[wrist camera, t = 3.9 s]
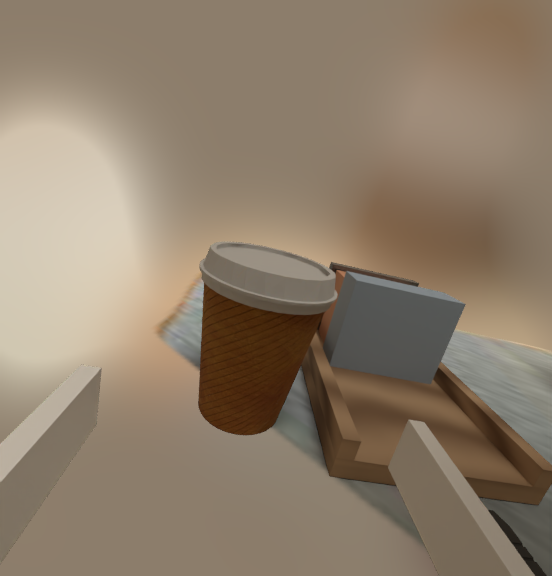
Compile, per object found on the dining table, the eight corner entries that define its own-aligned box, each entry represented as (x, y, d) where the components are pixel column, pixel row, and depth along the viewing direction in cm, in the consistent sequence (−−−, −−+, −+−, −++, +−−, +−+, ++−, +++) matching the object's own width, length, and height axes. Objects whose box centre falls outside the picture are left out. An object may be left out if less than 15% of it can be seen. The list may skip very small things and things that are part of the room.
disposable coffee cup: (272, 480, 19) (328, 295, 15) (146, 414, 21) (170, 243, 18) (310, 398, 27) (351, 269, 24) (218, 358, 30) (243, 237, 27)
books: (430, 384, 32) (465, 304, 30) (329, 365, 31) (356, 280, 28) (396, 346, 40) (421, 280, 38) (314, 330, 39) (335, 260, 36)
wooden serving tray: (538, 505, 22) (558, 472, 21) (329, 476, 20) (343, 438, 19) (402, 352, 42) (410, 333, 41) (293, 331, 40) (298, 310, 40)
